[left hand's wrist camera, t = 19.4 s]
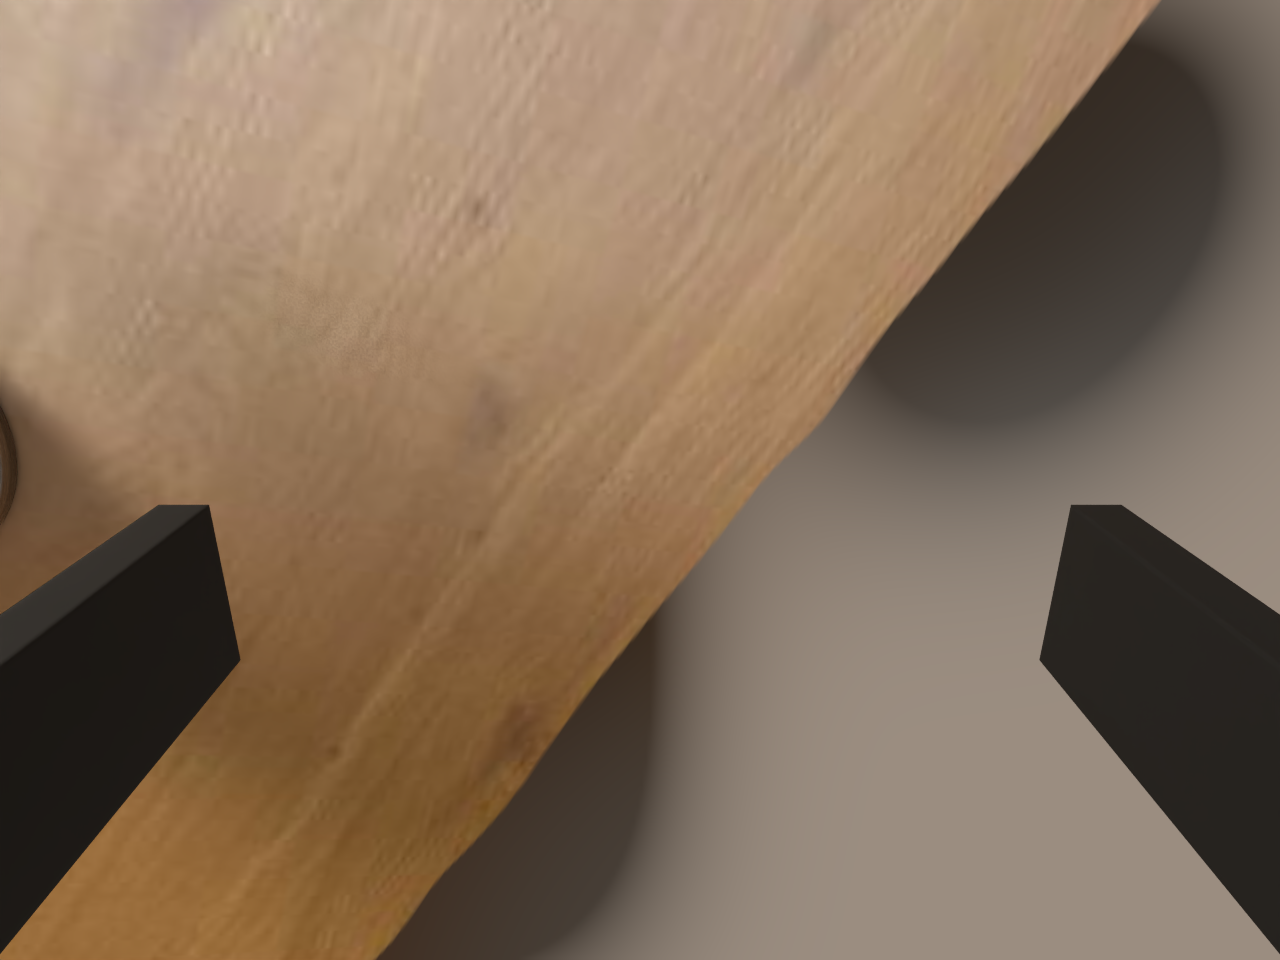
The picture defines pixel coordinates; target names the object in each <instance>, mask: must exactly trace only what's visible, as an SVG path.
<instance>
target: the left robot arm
mask: <svg viewBox="0 0 1280 960" xmlns="http://www.w3.org/2000/svg"><path fill="white" fill-rule="evenodd" d="M16 481H17V460H16V452H15V446H14V442H13V438H12V434H11V431H10V428H9V425H8V422H7V420H6V418H5V416H4V413H3V411H2V409H1V407H0V525H1V523H2V522H3V520H4V519H5V517H6V515H7V513H8V511H9V509H10V506H11V503H12V501H13V498H14V493H15V488H16ZM239 661H240V655H239V650H238V645H237V640H236V636H235V631H234V626H233V621H232V616H231V611H230V606H229V601H228V596H227V591H226V586H225V581H224V577H223V572H222V567H221V562H220V557H219V552H218V547H217V542H216V537H215V532H214V527H213V523H212V518H211V513H210V508H209V505H158V506H156V507H155V508H153V509H152V510H151V511H149V512H148V513H146V514H145V515H143V516H142V517H140V518H139V519H138V520H136V521H135V522H133V523H132V524H130V525H129V526H127V527H126V528H125V529H123V530H122V531H120V532H119V533H117V534H116V535H114V536H113V537H112V538H110V539H109V540H107V541H106V542H104V543H103V544H101V545H100V546H99V547H97V548H96V549H94V550H93V551H91V552H90V553H88V554H87V555H86V556H84V557H83V558H81V559H80V560H78V561H77V562H76V563H74V564H73V565H71V566H70V567H68V568H67V569H65V570H64V571H63V572H61V573H60V574H58V575H57V576H55V577H54V578H52V579H51V580H50V581H48V582H47V583H45V584H44V585H42V586H41V587H39V588H38V589H37V590H35V591H34V592H32V593H31V594H29V595H28V596H26V597H25V598H24V599H22V600H21V601H19V602H18V603H16V604H15V605H13V606H12V607H11V608H9V609H8V610H6V611H5V612H3V613H2V614H0V954H1V952H2V951H3V950H4V949H5V947H6V946H7V945H8V944H9V943H10V941H11V940H12V939H13V938H14V936H15V935H16V934H17V933H18V932H19V930H20V929H21V928H22V927H23V925H24V924H25V923H26V922H27V921H28V919H29V918H30V917H31V916H32V914H33V913H34V912H35V911H36V910H37V908H38V907H39V906H40V905H41V903H42V902H43V901H44V900H45V899H46V897H47V896H48V895H49V894H50V892H51V891H52V890H53V889H54V888H55V886H56V885H57V884H58V883H59V881H60V880H61V879H62V878H63V876H64V875H65V874H66V873H67V872H68V870H69V869H70V868H71V867H72V865H73V864H74V863H75V862H76V861H77V859H78V858H79V857H80V856H81V854H82V853H83V852H84V851H85V850H86V848H87V847H88V846H89V845H90V843H91V842H92V841H93V840H94V839H95V837H96V836H97V835H98V834H99V832H100V831H101V830H102V829H103V828H104V826H105V825H106V824H107V823H108V821H109V820H110V819H111V818H112V817H113V815H114V814H115V813H116V812H117V810H118V809H119V808H120V807H121V806H122V804H123V803H124V802H125V801H126V799H127V798H128V797H129V796H130V795H131V793H132V792H133V791H134V790H135V788H136V787H137V786H138V785H139V784H140V782H141V781H142V780H143V779H144V777H145V776H146V775H147V774H148V773H149V771H150V770H151V769H152V768H153V766H154V765H155V764H156V763H157V762H158V760H159V759H160V758H161V757H162V755H163V754H164V753H165V752H166V751H167V749H168V748H169V747H170V746H171V744H172V743H173V742H174V741H175V739H176V738H177V737H178V736H179V735H180V733H181V732H182V731H183V730H184V728H185V727H186V726H187V725H188V724H189V722H190V721H191V720H192V719H193V717H194V716H195V715H196V714H197V713H198V711H199V710H200V709H201V708H202V706H203V705H204V704H205V703H206V702H207V700H208V699H209V698H210V697H211V695H212V694H213V693H214V692H215V691H216V689H217V688H218V687H219V686H220V684H221V683H222V682H223V681H224V680H225V678H226V677H227V676H228V675H229V673H230V672H231V671H232V670H233V669H234V667H235V666H236V665H237V664H238V662H239ZM1040 661H1041V662H1042V664H1043V665H1044V666H1045V667H1046V669H1047V670H1048V671H1049V672H1050V673H1051V675H1052V676H1053V677H1054V678H1055V680H1056V681H1057V682H1058V683H1059V684H1060V686H1061V687H1062V688H1063V689H1064V691H1065V692H1066V693H1067V694H1068V695H1069V697H1070V698H1071V699H1072V700H1073V702H1074V703H1075V704H1076V705H1077V706H1078V708H1079V709H1080V710H1081V711H1082V713H1083V714H1084V715H1085V716H1086V717H1087V719H1088V720H1089V721H1090V722H1091V724H1092V725H1093V726H1094V727H1095V728H1096V730H1097V731H1098V732H1099V733H1100V735H1101V736H1102V737H1103V738H1104V739H1105V741H1106V742H1107V743H1108V744H1109V746H1110V747H1111V748H1112V749H1113V751H1114V752H1115V753H1116V754H1117V755H1118V757H1119V758H1120V759H1121V760H1122V761H1123V763H1124V764H1125V765H1126V766H1127V768H1128V769H1129V770H1130V771H1131V773H1132V774H1133V775H1134V776H1135V777H1136V779H1137V780H1138V781H1139V782H1140V784H1141V785H1142V786H1143V787H1144V788H1145V790H1146V791H1147V792H1148V793H1149V795H1150V796H1151V797H1152V798H1153V799H1154V801H1155V802H1156V803H1157V804H1158V806H1159V807H1160V808H1161V809H1162V810H1163V812H1164V813H1165V814H1166V815H1167V817H1168V818H1169V819H1170V820H1171V821H1172V823H1173V824H1174V825H1175V826H1176V828H1177V829H1178V830H1179V831H1180V832H1181V834H1182V835H1183V836H1184V837H1185V839H1186V840H1187V841H1188V842H1189V843H1190V845H1191V846H1192V847H1193V848H1194V850H1195V851H1196V852H1197V853H1198V854H1199V856H1200V857H1201V858H1202V859H1203V861H1204V862H1205V863H1206V864H1207V865H1208V867H1209V868H1210V869H1211V870H1212V872H1213V873H1214V874H1215V875H1216V876H1217V878H1218V879H1219V880H1220V881H1221V883H1222V884H1223V885H1224V886H1225V887H1226V889H1227V890H1228V891H1229V892H1230V894H1231V895H1232V896H1233V897H1234V899H1235V900H1236V901H1237V902H1238V903H1239V905H1240V906H1241V907H1242V908H1243V910H1244V911H1245V912H1246V913H1247V914H1248V916H1249V917H1250V918H1251V919H1252V921H1253V922H1254V923H1255V924H1256V925H1257V927H1258V928H1259V929H1260V930H1261V931H1262V933H1263V934H1264V935H1265V936H1266V938H1267V939H1268V940H1269V941H1270V943H1271V944H1272V945H1273V946H1274V947H1275V949H1276V950H1277V951H1278V952H1279V954H1280V614H1278V613H1277V612H1275V611H1274V610H1272V609H1271V608H1269V607H1268V606H1267V605H1265V604H1264V603H1262V602H1261V601H1259V600H1258V599H1256V598H1255V597H1254V596H1252V595H1251V594H1249V593H1248V592H1246V591H1245V590H1243V589H1242V588H1241V587H1239V586H1238V585H1236V584H1235V583H1233V582H1232V581H1230V580H1229V579H1228V578H1226V577H1225V576H1223V575H1222V574H1220V573H1219V572H1217V571H1216V570H1215V569H1213V568H1212V567H1210V566H1209V565H1207V564H1206V563H1204V562H1203V561H1202V560H1200V559H1199V558H1197V557H1196V556H1194V555H1193V554H1191V553H1190V552H1189V551H1187V550H1186V549H1184V548H1183V547H1181V546H1180V545H1179V544H1177V543H1176V542H1174V541H1173V540H1171V539H1170V538H1168V537H1167V536H1166V535H1164V534H1163V533H1161V532H1160V531H1158V530H1157V529H1155V528H1154V527H1153V526H1151V525H1150V524H1148V523H1147V522H1145V521H1144V520H1142V519H1141V518H1139V517H1138V516H1137V515H1135V514H1134V513H1132V512H1131V511H1129V510H1128V509H1127V508H1125V507H1124V506H1122V505H1071V508H1070V513H1069V518H1068V523H1067V527H1066V532H1065V537H1064V542H1063V547H1062V552H1061V557H1060V562H1059V567H1058V572H1057V577H1056V581H1055V586H1054V591H1053V596H1052V601H1051V606H1050V611H1049V616H1048V621H1047V626H1046V631H1045V636H1044V640H1043V645H1042V650H1041V655H1040Z"/></svg>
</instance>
